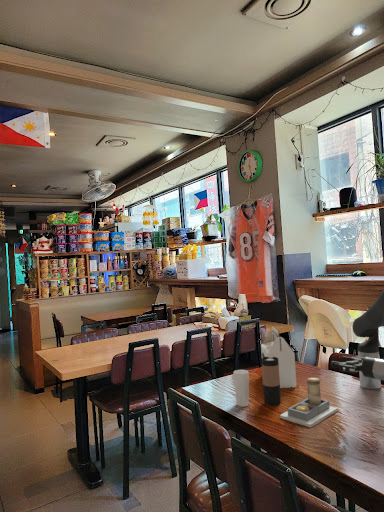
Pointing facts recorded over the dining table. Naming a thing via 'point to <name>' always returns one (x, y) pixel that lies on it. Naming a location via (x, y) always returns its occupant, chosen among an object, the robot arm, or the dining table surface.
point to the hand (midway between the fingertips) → (336, 361)
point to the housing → (308, 413)
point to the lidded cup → (314, 391)
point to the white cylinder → (242, 387)
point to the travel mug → (271, 381)
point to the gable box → (280, 357)
